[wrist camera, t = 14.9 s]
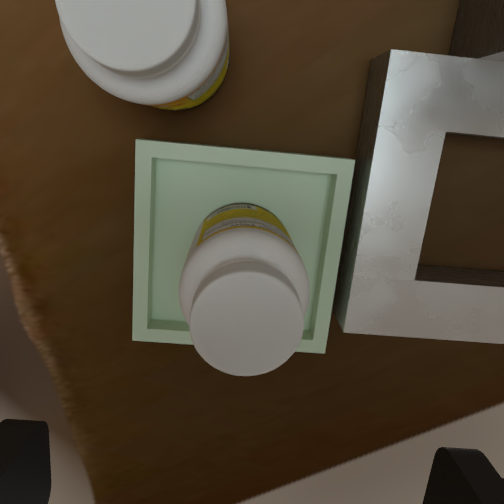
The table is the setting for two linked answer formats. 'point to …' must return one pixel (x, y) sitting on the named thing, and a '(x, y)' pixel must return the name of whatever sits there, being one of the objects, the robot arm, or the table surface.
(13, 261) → the table surface
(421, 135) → the housing
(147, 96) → the supplement bottle
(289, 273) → the supplement bottle
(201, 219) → the tray
